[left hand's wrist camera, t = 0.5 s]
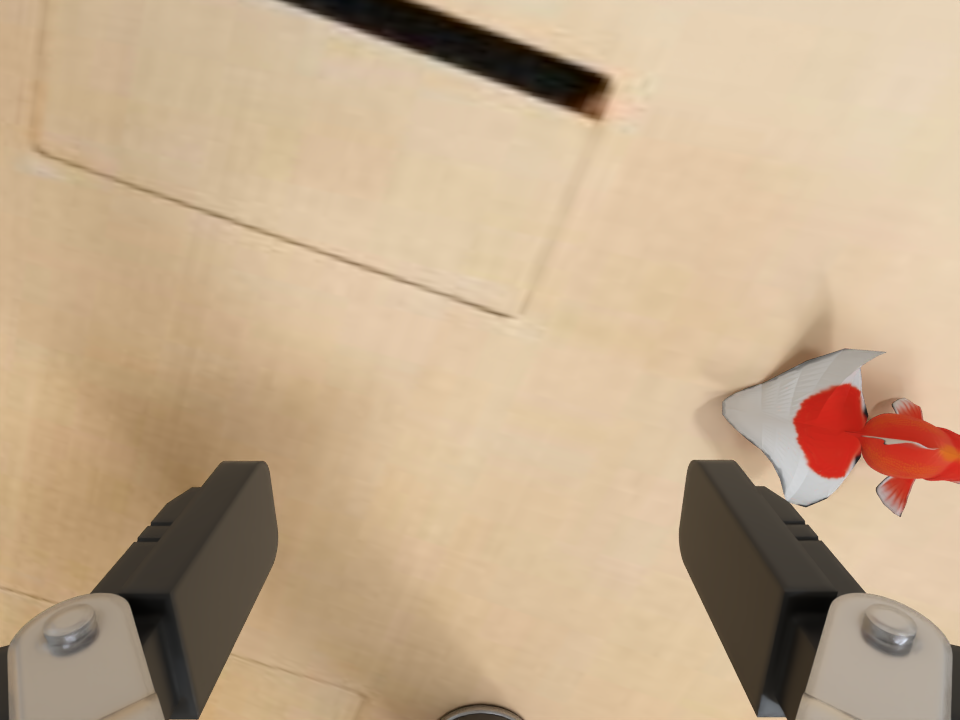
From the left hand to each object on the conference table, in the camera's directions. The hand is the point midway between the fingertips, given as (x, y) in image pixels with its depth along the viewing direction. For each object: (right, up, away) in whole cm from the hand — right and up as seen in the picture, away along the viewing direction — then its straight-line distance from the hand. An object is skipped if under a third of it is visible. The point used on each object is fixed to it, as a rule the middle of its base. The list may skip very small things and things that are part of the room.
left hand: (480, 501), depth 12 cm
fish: (+24, -1, +32) cm, 40 cm away
